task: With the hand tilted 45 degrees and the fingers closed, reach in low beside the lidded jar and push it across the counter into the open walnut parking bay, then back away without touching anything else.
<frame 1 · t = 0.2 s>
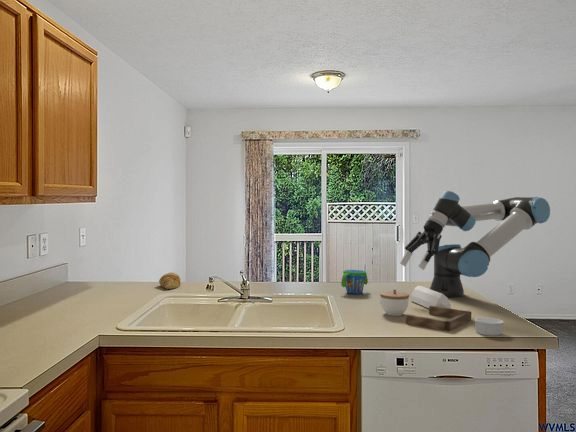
hand: (411, 266, 209), 16 cm above the worktop, tool tilted 35°, fingers open, 13 cm apart
white rounded prism: (429, 307, 206), on the worktop
lidded jar: (394, 314, 191), on the worktop
bay: (437, 321, 180), on the worktop
bread loaf: (169, 287, 244), on the worktop
snack cup: (354, 293, 233), on the worktop
ramekin: (488, 333, 165), on the worktop
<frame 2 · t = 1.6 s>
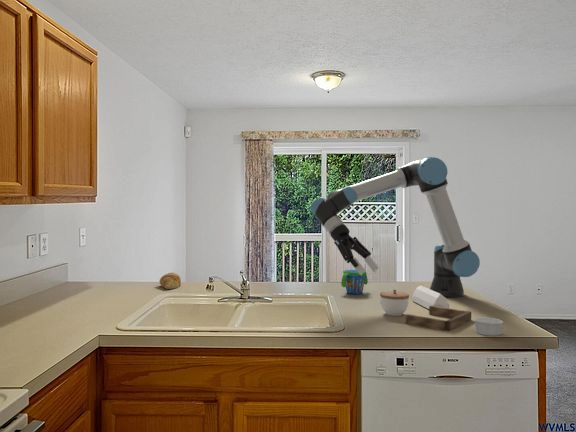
hand: (369, 271, 197), 15 cm above the worktop, tool tilted 45°, fingers open, 10 cm apart
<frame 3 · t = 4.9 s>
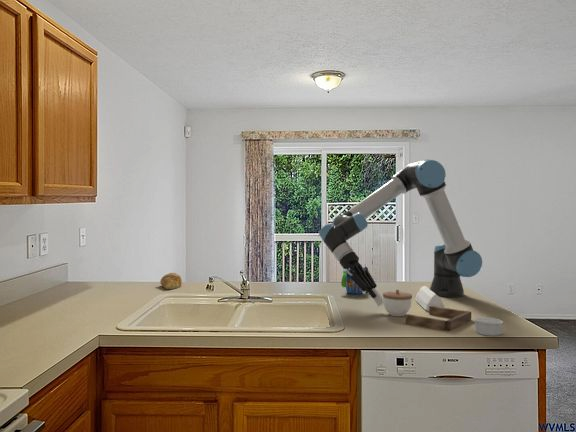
hand: (381, 303, 193), 3 cm above the worktop, tool tilted 45°, fingers closed
lidded jar: (396, 314, 190), on the worktop, touching gripper
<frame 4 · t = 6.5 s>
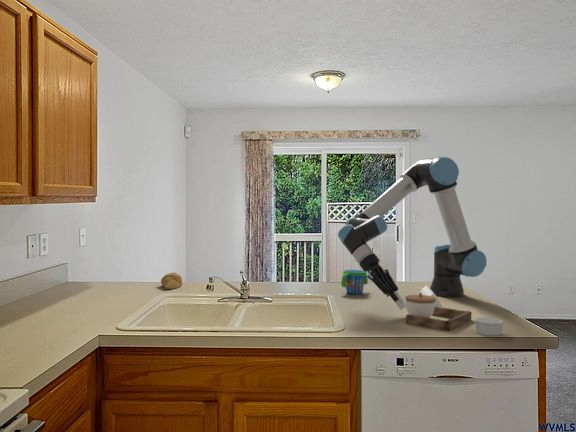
hand: (403, 307, 187), 3 cm above the worktop, tool tilted 45°, fingers closed
lidded jar: (419, 318, 184), on the worktop, touching gripper
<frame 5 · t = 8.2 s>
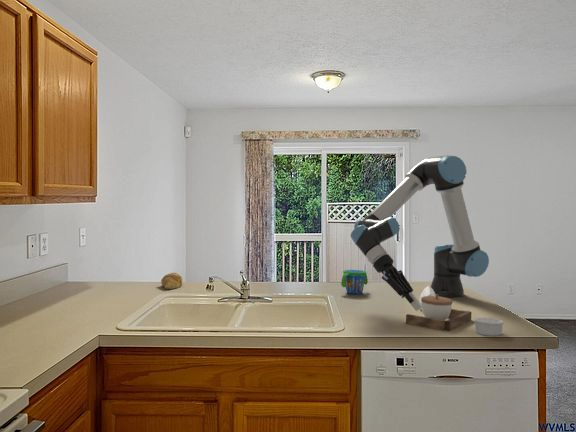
hand: (419, 308, 184), 4 cm above the worktop, tool tilted 45°, fingers closed
lidded jar: (435, 320, 181), on the worktop, touching gripper
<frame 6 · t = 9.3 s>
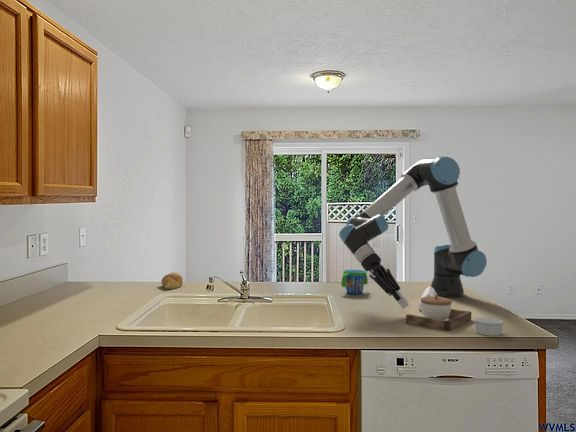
hand: (406, 306, 187), 4 cm above the worktop, tool tilted 45°, fingers closed
lidded jar: (435, 321, 181), on the worktop
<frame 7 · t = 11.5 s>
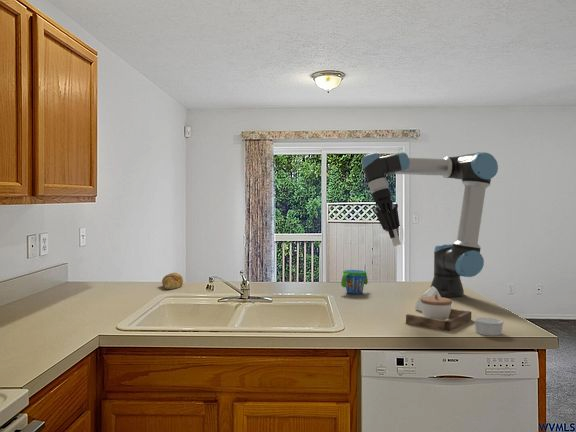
hand: (397, 245, 204), 25 cm above the worktop, tool tilted 20°, fingers closed
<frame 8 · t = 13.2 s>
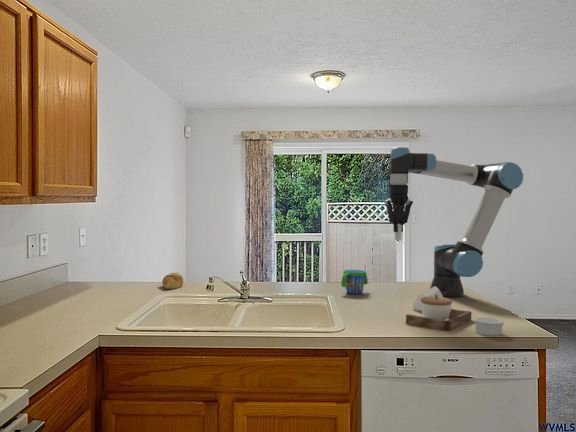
hand: (398, 239, 213), 26 cm above the worktop, tool pointing down, fingers closed
at the end: lidded jar 1.1 cm from the bay (horizontally); lidded jar tilted 0° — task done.
